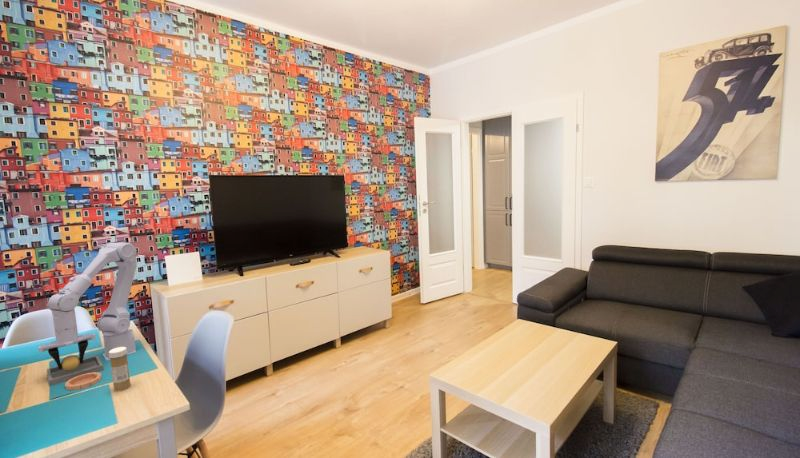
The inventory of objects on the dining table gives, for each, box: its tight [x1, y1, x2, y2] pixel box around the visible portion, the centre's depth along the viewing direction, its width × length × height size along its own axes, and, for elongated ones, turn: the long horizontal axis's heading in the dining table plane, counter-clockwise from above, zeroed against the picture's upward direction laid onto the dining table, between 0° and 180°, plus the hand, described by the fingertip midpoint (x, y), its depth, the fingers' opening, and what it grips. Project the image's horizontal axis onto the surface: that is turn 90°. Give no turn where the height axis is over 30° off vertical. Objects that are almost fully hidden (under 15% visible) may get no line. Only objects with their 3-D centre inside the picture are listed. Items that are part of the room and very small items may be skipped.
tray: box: [46, 355, 105, 387], centre depth 130 cm, size 14×12×2 cm
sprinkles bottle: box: [109, 347, 132, 393], centre depth 118 cm, size 5×5×13 cm
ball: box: [60, 354, 80, 370], centre depth 129 cm, size 5×5×5 cm
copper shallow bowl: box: [64, 372, 103, 391], centre depth 123 cm, size 9×9×2 cm
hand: (70, 365), depth 130 cm, fingers closed on ball, 5 cm apart
